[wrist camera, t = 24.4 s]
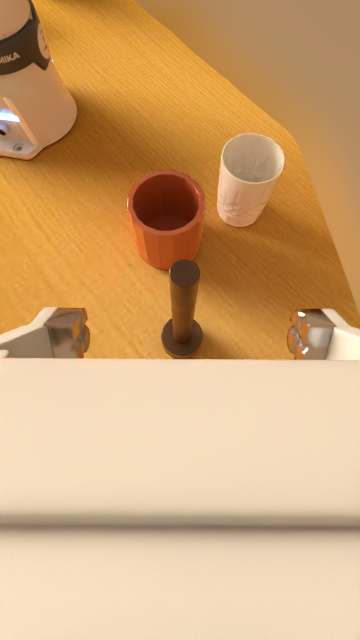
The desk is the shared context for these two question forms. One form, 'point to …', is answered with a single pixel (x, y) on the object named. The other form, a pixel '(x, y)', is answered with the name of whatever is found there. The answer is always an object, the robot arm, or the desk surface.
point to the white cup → (247, 177)
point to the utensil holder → (166, 217)
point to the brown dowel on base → (183, 312)
